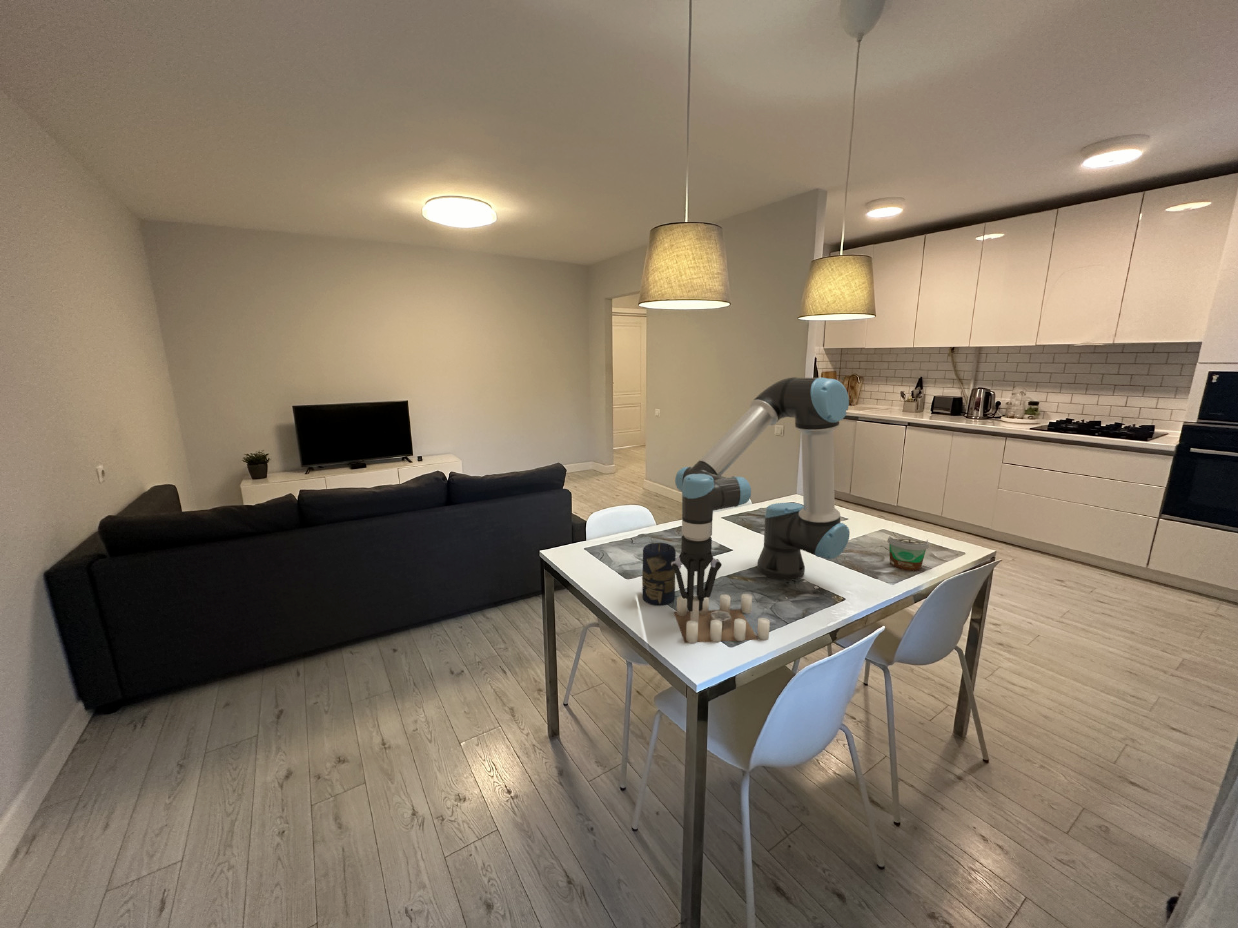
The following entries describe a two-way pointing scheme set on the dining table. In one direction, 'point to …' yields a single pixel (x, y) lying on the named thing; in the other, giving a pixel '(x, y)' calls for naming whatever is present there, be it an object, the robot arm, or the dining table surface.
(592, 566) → the dining table surface
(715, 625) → the spacers
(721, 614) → the nut
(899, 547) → the food container
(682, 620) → the board
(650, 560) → the canister
